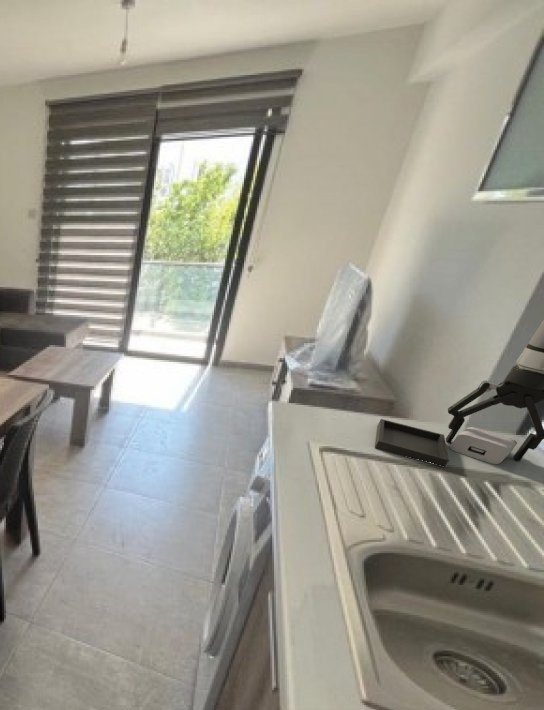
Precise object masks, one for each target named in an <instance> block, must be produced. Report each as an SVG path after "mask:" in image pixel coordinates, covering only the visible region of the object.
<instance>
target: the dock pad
mask: <svg viewBox="0 0 544 710" xmlns="http://www.w3.org/2000/svg"><path fill="white" fill-rule="evenodd" d="M375 433H376V435H375V443H374V449H377V450H380V451H384V452H387V453H390V454H394V455H398V456H401V455H402V456H401V457H405V456H407V457H406V458H408V457H411V458H410V459H412V458H414V459H413V460H415V459H419V460H423V461H427V462H431V463H434V464H437V465H441V466H444V467H443V468H445V467H446V466H447V464H448V462H449V461H450V459H449V454H448V449H447V448H448V447H447V442H446V437H445V434H442V433H439V432H436V431H431V430H427V429H423V428H419V427H415V426H411V425H407V424H403V423H400V422H395V421H392V420H387V419H384V418H380V419H379V422H377V426H376V432H375ZM419 460H418V461H419ZM437 465H436V466H437Z"/></svg>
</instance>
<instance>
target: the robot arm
mask: <svg viewBox="0 0 544 710" xmlns="http://www.w3.org/2000/svg"><path fill="white" fill-rule="evenodd" d="M515 363H516V364H515V365H513V366H512V367H511V368H510V370H509V372H508V373H507V374H506V376H505V378H504V379H503V381H501V382H500V383H499V384H498V383H497V384H496V383H493V382H489V381H488V380H482V381H481V383H480V384H479V385H478V387H477V388H476V389H474V390H472V391H471V392H470V393H468V394H467V395H465V396H464V397H462V398H460V399H459V400H458V401H457V402H455V403H453V404H452V405H451V406H449V407H448V408H447V413H448V414H449V415H451V416H453V417H452V418H451V420H450V422H449V423H448V426H447V427H448V430H450V432H449V433H448V435H447V436H446V437H445V442H446V443H448V444H452V442H453V441H454V439H455V438H456V436H457V435H458V434H457V433H458V432H459V430H460V429H461V428H462V426H463V424H464V423H465V422H466V419H465V417H467V416H472V415H473V414H475V413H478V412H480V411H483V410H486V409H487V408H490V407H492V406H496V405H499V404H502V405H504V406H509V407H514V408H517V409H526V410H527V412H528V415H529V418H530V421H531V424H532V425H533V428H534V432H535V433H529V435H528V436H527V437H526V438H525V440H524V441H523V443H522V444H521V445H520V447H519V448H518V449H517V451H516V452H515V453H514V455H513V458H514V460H515V461H517V462H521V460H522V459H523V457H524V456H525V454H526V453H527V452H528V451H529V450H533V451H534V450H536V449H537V448H538V446H539V445H540V444H541V443H542V441H543V440H544V426H543V423H542V421H541V418H540V415H539V412H538V409H537V406H536V404H539V403H541V402H544V319H543V320H542V321H541V323H540V324H539V326H538V327H537V329H536V330H535V332H534V334H533V335H532V337H531V339H530V340H529V341H528V344H527V345H526V347H524V349H523V351H522V352H521V354H519V357H518V358H517V360H516V361H515ZM492 390H495V392H496V394H495V395H492V396H490V397H489V398H486V399H484V400H481V401H480V402H478V403H475V404H473V405H470V406H468V405H469V404H471V403H472V402H474V401H475V400H477V399H478V398H479V397H481V396H482V395H483V394H484V393H486V392H487V393H488V392H490V391H492ZM466 406H467V407H466Z"/></svg>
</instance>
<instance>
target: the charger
mask: <svg viewBox="0 0 544 710" xmlns="http://www.w3.org/2000/svg"><path fill="white" fill-rule="evenodd" d="M517 445H518V442H517V440H515V439H513V438H512V437H509V436H504V435H503V434H502V435H501V434H498V433H495V432H492V431H489V430H485V429H481V428H479V427H472V426H471V427H467V428H465V429H464V430H463V431H461V432H460V433H458V434H456V436H455V437H454V439H453V440H452V442H451V443H450V446H449V448H450V449H451V450H452V451H453V452H456V453H458V454H461V455H464V456H467V457H470V458H474V459H477V460H479V461H483V462H486V463H489V464H493V465H498V464H501V463H502V461H504V460H505V459H506V458H507V457H508V456H509V455H510V454H511V453H512V451H513V450H514V448H515V447H516V446H517Z"/></svg>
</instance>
